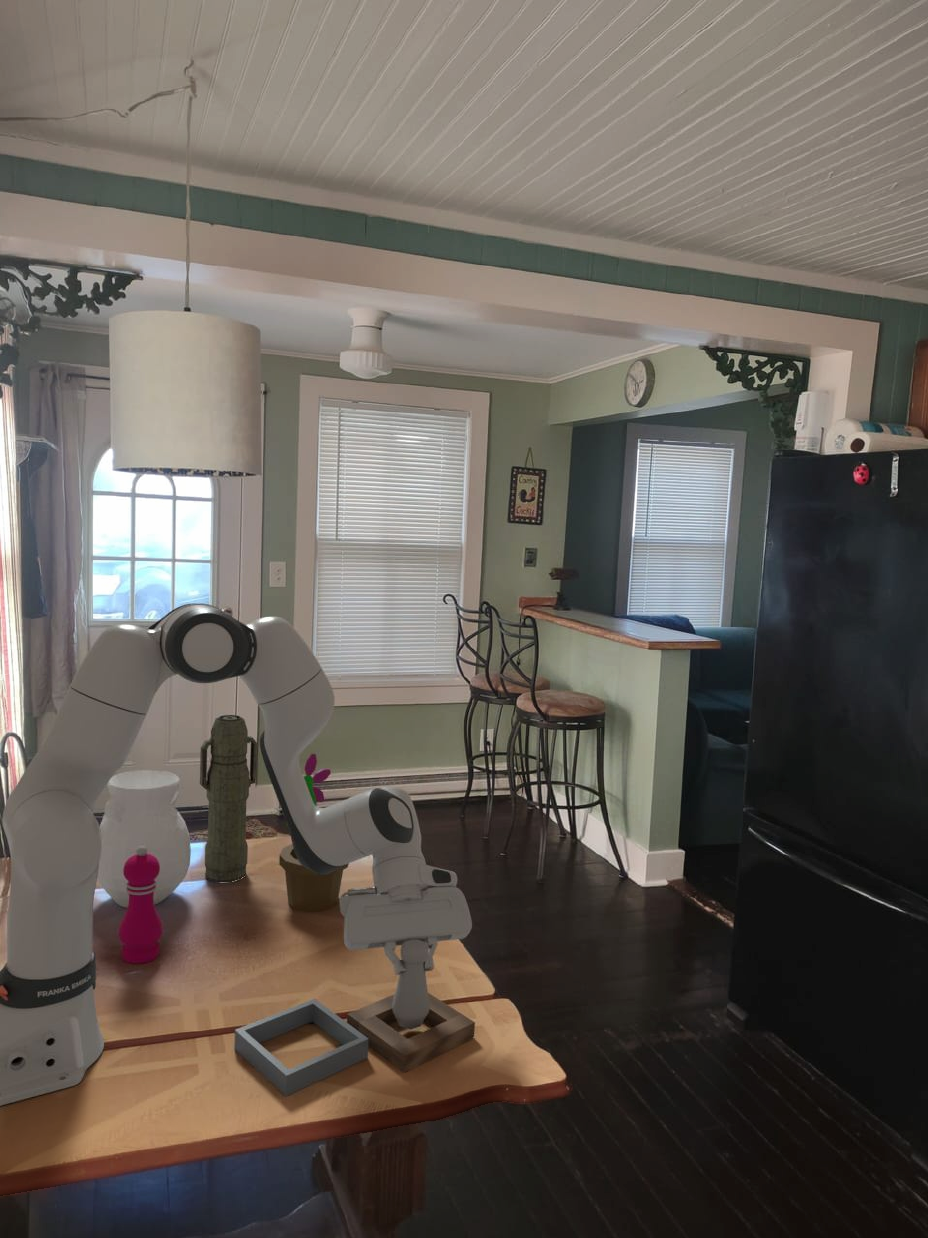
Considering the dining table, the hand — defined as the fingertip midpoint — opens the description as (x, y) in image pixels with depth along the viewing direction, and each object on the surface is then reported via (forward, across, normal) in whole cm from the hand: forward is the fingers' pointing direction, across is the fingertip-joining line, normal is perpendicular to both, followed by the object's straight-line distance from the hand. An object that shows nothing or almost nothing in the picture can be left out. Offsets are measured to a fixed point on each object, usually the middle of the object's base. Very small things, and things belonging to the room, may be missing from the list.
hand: (414, 972), depth 137 cm
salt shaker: (+6, 0, +7) cm, 9 cm away
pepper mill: (-17, -40, +32) cm, 54 cm away
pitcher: (-34, -41, +49) cm, 72 cm away
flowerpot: (-29, -7, +44) cm, 53 cm away
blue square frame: (+8, -17, +7) cm, 20 cm away
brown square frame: (+7, 0, +8) cm, 10 cm away
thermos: (-40, -24, +55) cm, 73 cm away
